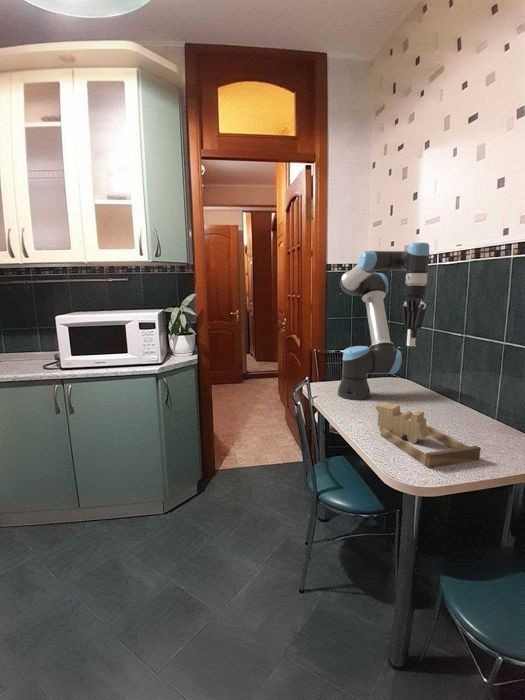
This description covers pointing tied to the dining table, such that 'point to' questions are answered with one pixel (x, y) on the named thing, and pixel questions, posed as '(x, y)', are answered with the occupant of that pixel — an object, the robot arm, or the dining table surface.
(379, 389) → the dining table surface
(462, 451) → the frame
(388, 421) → the toy train
